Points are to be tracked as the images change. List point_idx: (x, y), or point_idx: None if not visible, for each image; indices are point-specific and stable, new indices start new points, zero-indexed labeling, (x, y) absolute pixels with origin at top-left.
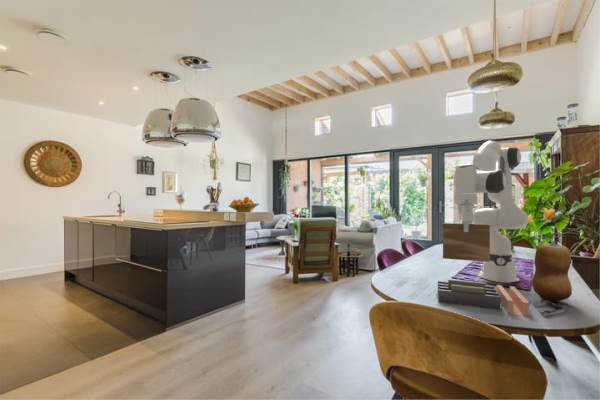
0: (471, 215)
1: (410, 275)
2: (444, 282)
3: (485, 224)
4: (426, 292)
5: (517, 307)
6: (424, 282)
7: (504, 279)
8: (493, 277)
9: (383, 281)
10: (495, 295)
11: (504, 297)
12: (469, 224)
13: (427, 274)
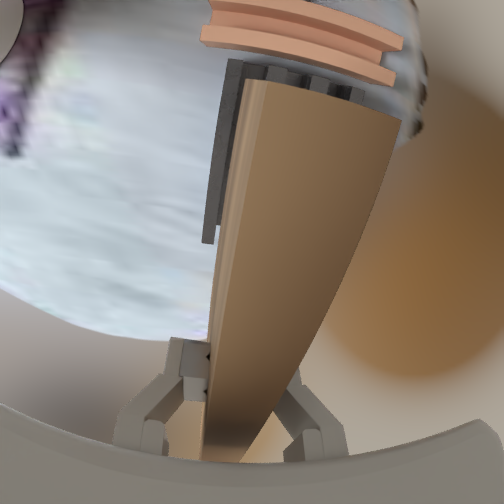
0: (502, 475)
1: (49, 265)
2: (215, 225)
3: (343, 226)
4: (195, 245)
5: (324, 30)
6: (94, 238)
7: (16, 11)
8: (6, 40)
9: (139, 327)
10: (349, 98)
11: (347, 70)
12: (265, 416)
13: (17, 221)
